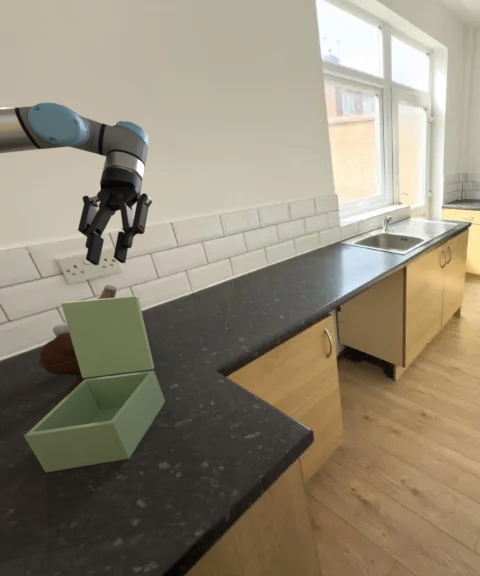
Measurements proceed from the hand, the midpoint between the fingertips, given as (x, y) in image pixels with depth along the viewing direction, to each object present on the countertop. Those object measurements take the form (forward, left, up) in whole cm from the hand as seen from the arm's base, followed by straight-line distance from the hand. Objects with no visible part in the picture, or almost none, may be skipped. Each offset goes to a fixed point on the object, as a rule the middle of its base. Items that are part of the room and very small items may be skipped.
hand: (106, 260), depth 69 cm
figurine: (-21, +16, -32) cm, 42 cm away
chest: (+3, -16, -32) cm, 36 cm away
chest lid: (+1, -7, -15) cm, 17 cm away
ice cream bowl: (-17, 0, -32) cm, 37 cm away
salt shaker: (-25, +8, -32) cm, 42 cm away
